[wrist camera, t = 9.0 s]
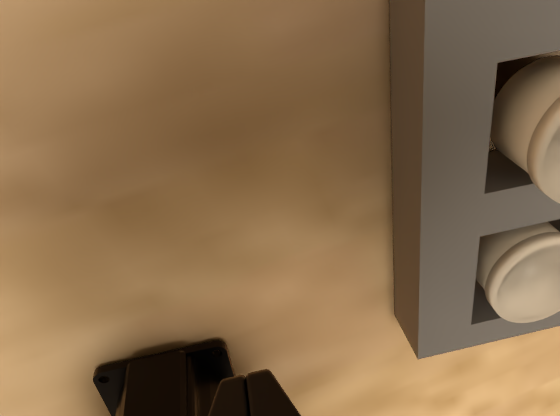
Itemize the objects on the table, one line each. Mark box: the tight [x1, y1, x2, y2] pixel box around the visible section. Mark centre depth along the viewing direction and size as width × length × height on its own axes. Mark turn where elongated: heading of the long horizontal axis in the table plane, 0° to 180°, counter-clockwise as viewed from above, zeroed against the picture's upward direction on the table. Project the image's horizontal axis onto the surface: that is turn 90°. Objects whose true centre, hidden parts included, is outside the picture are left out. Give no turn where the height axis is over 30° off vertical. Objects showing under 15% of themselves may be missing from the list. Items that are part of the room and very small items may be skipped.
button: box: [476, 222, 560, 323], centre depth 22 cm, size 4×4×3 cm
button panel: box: [389, 0, 560, 359], centre depth 19 cm, size 22×10×3 cm, turn 8°
